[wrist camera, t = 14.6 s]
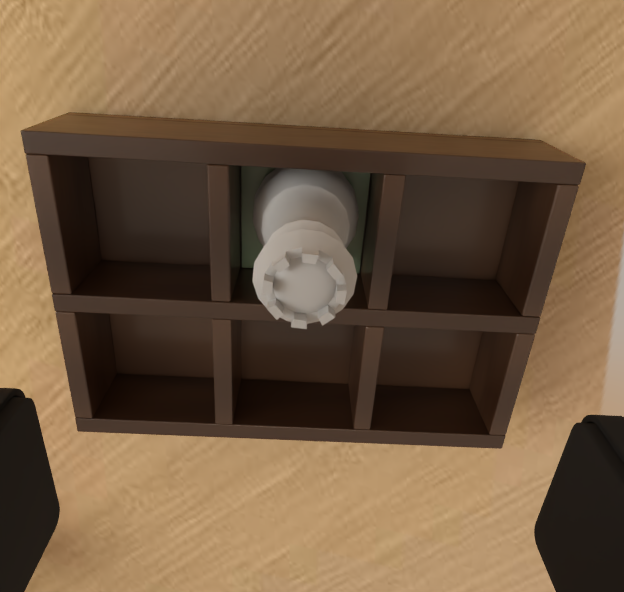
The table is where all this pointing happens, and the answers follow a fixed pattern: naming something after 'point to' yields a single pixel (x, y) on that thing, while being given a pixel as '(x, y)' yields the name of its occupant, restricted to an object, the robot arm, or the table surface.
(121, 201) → the rack
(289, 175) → the rook chess piece
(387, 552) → the table surface
